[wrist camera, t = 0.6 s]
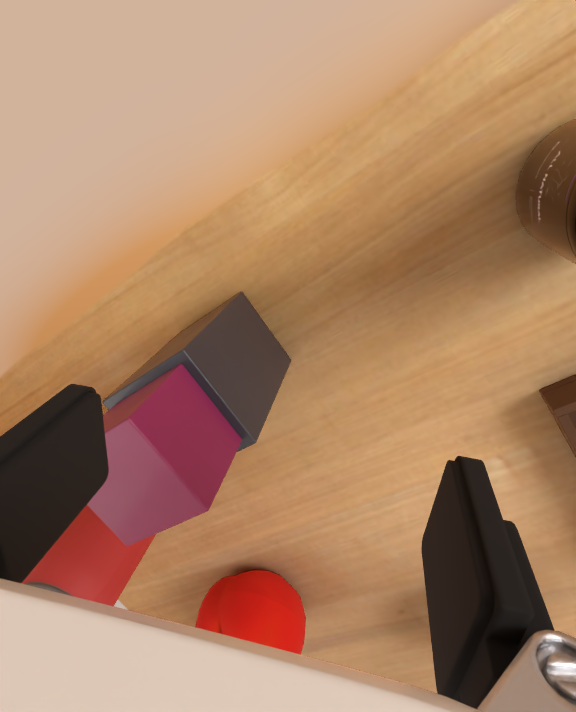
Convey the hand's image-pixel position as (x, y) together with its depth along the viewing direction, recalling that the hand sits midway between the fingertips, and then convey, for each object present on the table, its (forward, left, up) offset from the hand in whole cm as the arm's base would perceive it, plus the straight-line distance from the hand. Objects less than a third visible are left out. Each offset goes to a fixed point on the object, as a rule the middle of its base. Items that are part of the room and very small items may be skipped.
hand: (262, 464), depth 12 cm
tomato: (+29, -8, -19) cm, 36 cm away
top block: (+4, -7, -9) cm, 12 cm away
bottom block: (+4, -7, -19) cm, 20 cm away
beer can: (+18, -18, -19) cm, 32 cm away
